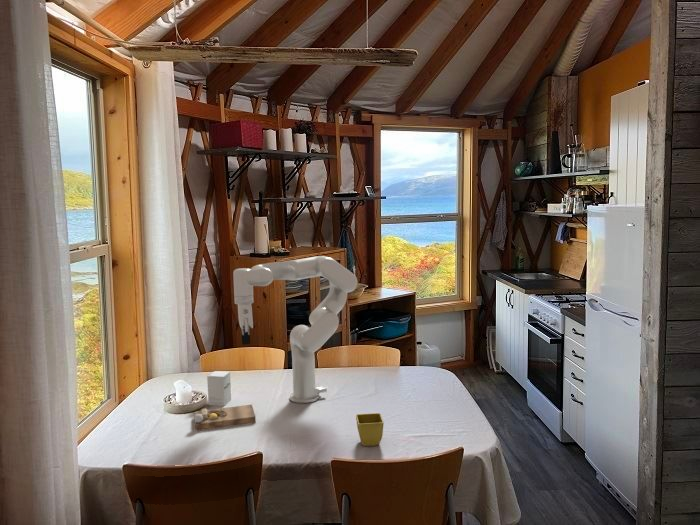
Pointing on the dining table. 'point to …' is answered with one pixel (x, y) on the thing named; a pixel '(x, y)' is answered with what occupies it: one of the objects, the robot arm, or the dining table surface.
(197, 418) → the grey ball
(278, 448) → the dining table surface
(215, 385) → the supplement box
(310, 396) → the robot arm
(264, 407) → the dining table surface
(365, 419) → the flower pot
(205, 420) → the board
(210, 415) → the ball
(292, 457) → the dining table surface
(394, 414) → the dining table surface
